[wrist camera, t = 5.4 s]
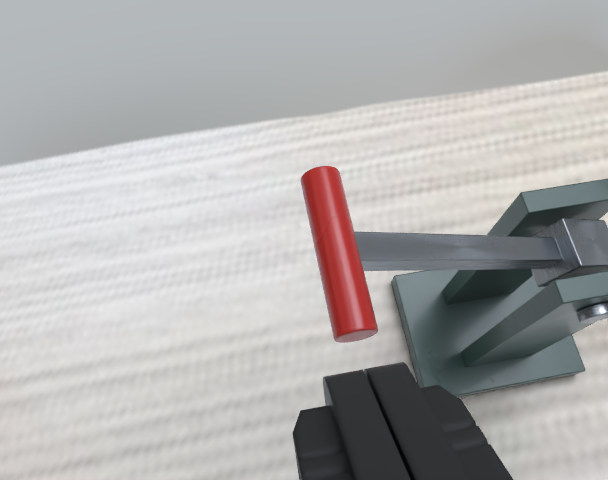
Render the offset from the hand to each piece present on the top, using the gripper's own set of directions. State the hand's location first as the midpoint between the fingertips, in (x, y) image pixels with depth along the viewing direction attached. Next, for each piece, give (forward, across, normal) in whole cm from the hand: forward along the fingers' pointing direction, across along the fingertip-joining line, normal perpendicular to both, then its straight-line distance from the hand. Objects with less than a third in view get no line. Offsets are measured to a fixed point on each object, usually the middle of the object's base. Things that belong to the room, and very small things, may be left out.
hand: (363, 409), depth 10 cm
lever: (+12, -7, +3) cm, 14 cm away
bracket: (+21, -12, +13) cm, 28 cm away
